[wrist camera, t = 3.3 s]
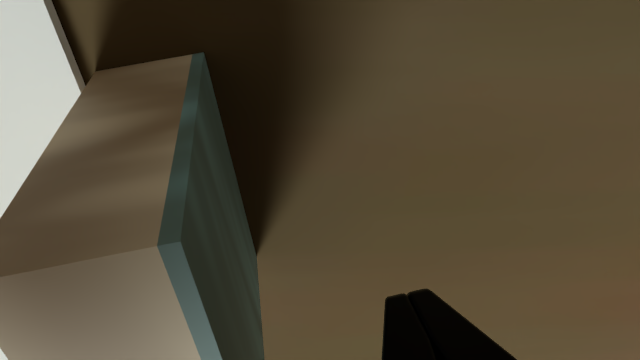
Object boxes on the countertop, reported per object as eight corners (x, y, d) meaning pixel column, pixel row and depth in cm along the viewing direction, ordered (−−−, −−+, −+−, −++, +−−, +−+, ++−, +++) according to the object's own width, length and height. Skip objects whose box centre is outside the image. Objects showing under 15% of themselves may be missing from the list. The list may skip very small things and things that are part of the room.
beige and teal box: (204, 52, 13) (180, 240, 7) (256, 256, 17) (276, 510, 10) (95, 71, 13) (-43, 285, 6) (172, 273, 17) (136, 543, 10)
